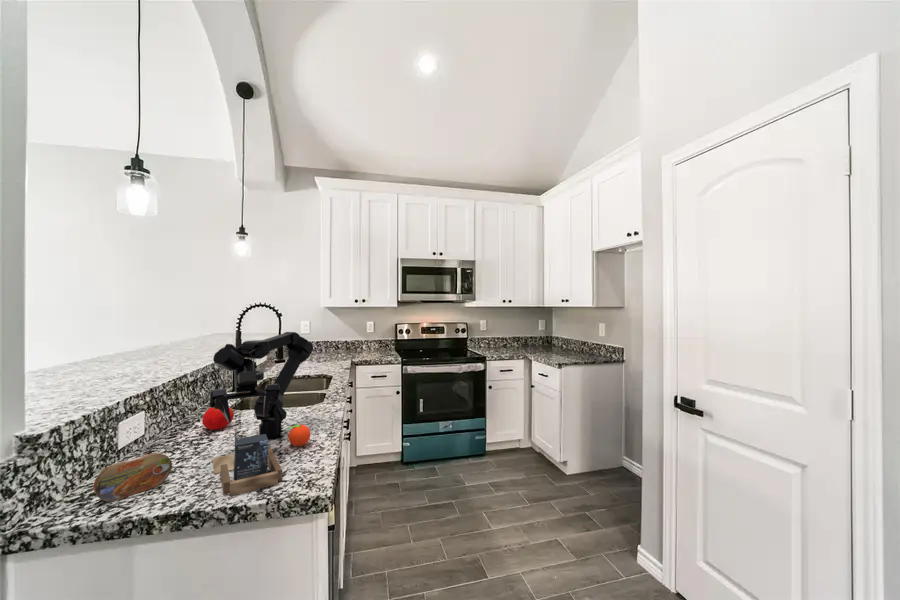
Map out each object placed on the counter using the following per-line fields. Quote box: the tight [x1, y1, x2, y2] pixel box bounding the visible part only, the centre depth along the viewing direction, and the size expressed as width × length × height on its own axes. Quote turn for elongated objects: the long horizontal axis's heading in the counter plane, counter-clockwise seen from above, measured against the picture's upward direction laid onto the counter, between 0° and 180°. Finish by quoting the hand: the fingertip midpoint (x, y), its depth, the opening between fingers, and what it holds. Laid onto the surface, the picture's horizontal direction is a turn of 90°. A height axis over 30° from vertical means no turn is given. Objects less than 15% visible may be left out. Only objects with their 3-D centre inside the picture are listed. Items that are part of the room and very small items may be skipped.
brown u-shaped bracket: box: [219, 454, 283, 497], centre depth 98 cm, size 14×14×3 cm
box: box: [233, 434, 269, 481], centre depth 100 cm, size 8×6×11 cm
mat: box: [212, 446, 275, 475], centre depth 110 cm, size 16×12×1 cm
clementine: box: [285, 424, 312, 447], centre depth 122 cm, size 8×7×7 cm
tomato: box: [202, 406, 235, 431], centre depth 137 cm, size 9×10×8 cm
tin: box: [92, 452, 173, 502], centre depth 91 cm, size 15×3×8 cm, turn 148°
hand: (247, 419), depth 107 cm, fingers open, 9 cm apart
